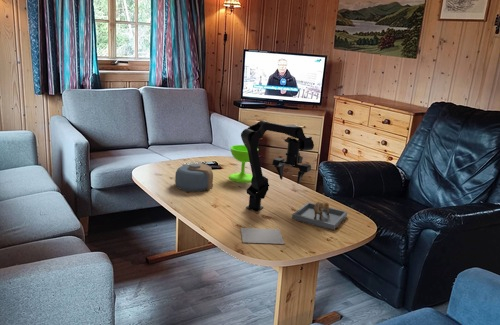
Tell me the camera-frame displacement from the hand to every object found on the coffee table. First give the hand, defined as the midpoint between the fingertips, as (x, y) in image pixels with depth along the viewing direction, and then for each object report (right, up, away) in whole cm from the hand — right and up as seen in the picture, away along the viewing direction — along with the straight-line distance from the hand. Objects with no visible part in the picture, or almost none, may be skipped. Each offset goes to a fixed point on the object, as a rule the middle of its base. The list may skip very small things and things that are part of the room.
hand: (289, 181), depth 221 cm
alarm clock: (-50, -4, +18) cm, 53 cm away
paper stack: (-11, -21, -32) cm, 39 cm away
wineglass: (-24, 0, +38) cm, 45 cm away
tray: (+13, -17, -12) cm, 24 cm away
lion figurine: (+14, -16, -13) cm, 25 cm away
